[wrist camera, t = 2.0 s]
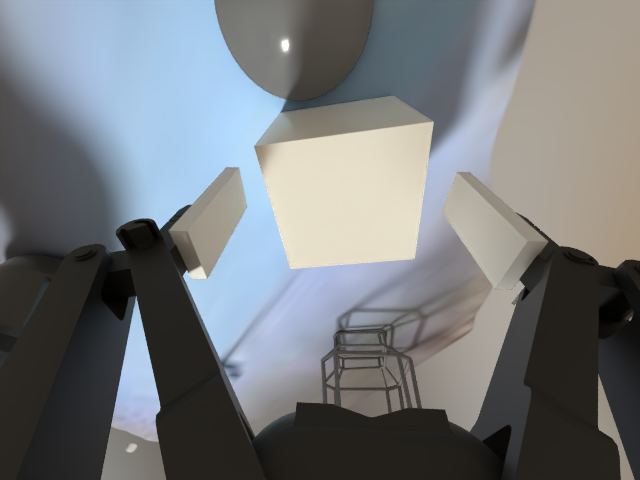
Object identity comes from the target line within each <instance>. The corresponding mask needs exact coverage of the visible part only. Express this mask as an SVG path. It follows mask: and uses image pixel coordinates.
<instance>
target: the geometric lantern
mask: <svg viewBox="0 0 640 480" xmlns="http://www.w3.org/2000/svg"><path fill="white" fill-rule="evenodd" d="M338 334H339V335H338ZM341 334H378V337H379V342H380V344H345V345H341V342H340V335H341ZM380 334H382V335H383V343H382V340H381V336H380ZM337 335H338V345H337V344H336V337H337ZM385 336H386V335H385V333H383V332H380V331H362V332H337V333H336V334H335V335H334V336H333V338H334V349H332V350H331V351H330V352H329V353H328V354H327V355H326V356H325V357H323V358H322V359H321V367H322V393H323V404H327V389H326V388H328V389H330V390H333V391H334V405H337V406H339V407H341V399H340V391H386V398H387V405H388V412H389V413H391V412H392V411H391V404H390V398H389V391H390V390H394V389H398V391H399V398H400V405H401V410H402V409H404V402H403V396H402V389H401V385H402V383H403V388H404V392H405V397H406V402H407V406H408V408H412V404H411V399H410V395H409V390H408V386H407V382H406V377H405V376H406V373H407V371H408V369H409V367H410V371H411V376H412V381H413V387H414V392H415V397H416V403H417V408H421V409H422V406H421V401H420V396H419V391H418V387H417V381H416V376H415V371H414V366H413V361H412V358H411V357H409V356H406V355H404V354H402V353H400V352H398V351H397V350H395V349H393V348H391V347H390V346H388V345H387V343H386V337H385ZM372 346H382V352H356V351H337V349H338V348H339V347H372ZM384 348H385V351H384ZM387 350H389V351H390V352H387ZM338 355H352V356H379V357H350V358H343V357H340V356H338ZM332 356H333V357H334V371H333V372H332V373H331V374H330V375H329V376H328V377H327V379H326V373H325V361H327V360H328V359H329V358H331V357H332ZM387 356H389V357H397V360H398V365H399V369H400V374H401V378H400V381H399V383H398V382H397V381H396V379H395V378H394V377H393V375H392V374H391V373H390V371H389V370H388V369H387V367H386V357H387ZM381 357H382V359H383V364H384V365H382V366H381V362H380V358H381ZM401 358H403V359H406V360H408V361H407V363H406V366H405V368H403V364H402V360H401ZM339 359H342V367H340V362H339ZM363 359H378V364H379V366H376V367H356V368H344V360H363ZM382 368H385V370H386V371H387V372H388V374H389V375H390V376H391V378H392V379H393V380H394V382H395V383H396V384H397V385H394V386H391V387H387V384H386V381H385V377H384V374H383V370H382ZM338 369H341V371H340V374H339V373H338ZM364 369H380V371H381V375H382V378H383V382H384V385H385V388H340V386H339V380H340V377H341V374H342V371H343V370H364ZM334 373H335V388H334V387H332V386H330V385H328V384H326V382H327V381H328V380H329V379H330V378H331V376H332V375H333V374H334Z"/></svg>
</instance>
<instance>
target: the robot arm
mask: <svg viewBox="0 0 640 480" xmlns="http://www.w3.org/2000/svg"><path fill="white" fill-rule="evenodd" d="M246 208H247V203H246V199H245V194H244V189H243V184H242V180H241V175H240V170H239V168H238V167H226V168H225V170H224V171H223V172H222V173H221V174H220V175H219V176H218V177H217V178H216V179H215V180H214V182H213V183H212V184H211V185H210V186H209V187H208V188H207V189H206V190H205V191H204V192H203V194H202V195H201V196H200V197H199V198H198V199H197V200H196V201H195V202H194V203H193V204H192V205H187V206H185V207H183V208H182V209H180V210H179V211H178V212H177V213H176V214H175V215H174V217H172V218H171V219H170V220H169V222H167V223H166V224H165V225H164V226H163V227H162V228H161V229H160V230H159V229H158V227H157V225H156V223H155V221H154V220H152V219H138V220H133V221H131V222H128V223H126V224H124V225H122V226H120V227H119V228H118V229H117V231H116V235H117V237H118V239H119V240H120V242H121V243H122V245H123V246H124V248H125V249H126V250H124V251H118V252H112V253H109V252H108V250H107V249H106V247H105V246H103V245H100V244H93V245H88V246H83V247H80V248H79V249H76V250H74V251H73V252H71V253H70V254H68V255H67V256H66V257H65V258H64V259H63V260H61V259H57V258H53V257H47V256H41V255H20V256H15V257H12V258H10V259H9V260H7V261H6V262H4V263H2V264H1V265H0V480H101V475H102V469H103V463H104V459H105V454H106V449H107V443H108V438H109V433H110V428H111V423H112V417H113V412H114V407H115V402H116V397H117V391H118V386H119V381H120V376H121V371H122V366H123V360H124V355H125V350H126V345H127V340H128V334H129V329H130V324H131V319H132V314H133V308H134V303H135V298H136V296H137V301H138V305H139V310H140V314H141V319H142V323H143V328H144V332H145V337H146V341H147V346H148V350H149V355H150V360H151V364H152V369H153V373H154V378H155V382H156V387H157V391H158V396H159V400H160V406H161V408H160V411H159V412H158V414H157V415H156V428H157V434H158V439H159V444H160V449H161V455H162V460H163V464H164V470H165V475H166V480H621V477H620V456H619V451H618V447H617V445H616V443H615V442H614V440H613V439H612V438H611V437H609V436H607V435H606V434H604V433H603V432H601V431H599V429H598V374H599V377H600V379H601V382H602V385H603V388H604V391H605V394H606V397H607V400H608V403H609V406H610V409H611V412H612V414H613V417H614V420H615V423H616V426H617V429H618V432H619V435H620V438H621V440H622V444H623V446H624V450H625V452H626V455H627V458H628V461H629V464H630V467H631V470H632V473H633V476H634V479H635V480H640V261H637V260H625V261H624V262H623V263H622V264H620V265H619V266H618V267H617V268H611V267H606V266H601V265H599V264H598V262H597V261H596V260H595V259H594V258H593V257H592V256H590V255H588V254H587V253H585V252H582V251H580V250H578V249H574V248H571V247H563V246H561V247H560V246H558V245H557V244H556V243H555V242H554V241H552V240H551V239H550V238H549V237H548V236H547V235H546V234H544V233H543V232H542V231H540V229H539V228H537V227H536V226H534V224H533V223H532V222H530V221H529V220H528V219H527V218H525V217H523V216H522V215H520V214H518V213H516V212H514V211H513V210H512V209H511V208H510V207H509V206H508V205H506V204H505V203H504V202H503V201H502V200H501V199H500V198H498V197H497V196H496V195H495V194H494V193H493V192H492V191H491V190H489V189H488V188H487V187H486V186H485V185H484V184H483V183H482V182H480V181H479V180H478V179H477V178H476V177H475V176H474V175H472V174H471V173H470V172H457V173H456V175H455V178H454V181H453V183H452V186H451V189H450V192H449V194H448V197H447V200H446V202H445V205H444V208H443V210H442V212H443V214H444V215H445V217H446V218H447V220H448V221H449V223H450V224H451V226H452V227H453V229H454V230H455V231H456V233H457V234H458V236H459V237H460V239H461V240H462V242H463V243H464V245H465V246H466V248H467V249H468V251H469V252H470V253H471V255H472V256H473V258H474V259H475V261H476V262H477V264H478V265H479V267H480V268H481V270H482V271H483V273H484V274H485V275H486V277H487V278H488V280H489V281H490V283H491V284H492V286H493V287H494V289H507V290H512V289H513V288H514V287H515V285H516V284H517V283H518V281H519V280H520V281H521V282H522V283H523V284H524V286H525V287H524V289H523V290H522V291H521V292H520V294H519V295H518V296H517V297H516V299H515V300H514V301H513V302H512V304H513V305H515V304H516V303H517V304H516V307H515V310H514V313H513V316H512V319H511V322H510V325H509V328H508V331H507V334H506V337H505V340H504V343H503V346H502V349H501V352H500V355H499V358H498V361H497V364H496V367H495V370H494V373H493V376H492V378H491V382H490V385H489V388H488V390H487V393H486V396H485V399H484V402H483V405H482V408H481V411H480V414H479V417H478V420H477V421H476V423H475V425H474V426H473V428H472V429H471V431H470V432H468V431H467V430H465V429H463V428H462V427H460V426H458V425H456V424H453V423H451V422H449V421H448V418H447V415H446V412H445V410H441V409H440V410H439V409H421V408H406V409H402V410H399V411H395V412H391V413H388V414H384V415H381V416H377V417H367V416H364V415H362V414H359V413H356V412H353V411H350V410H348V409H345V408H342V407H339V406H337V405H334V404H321V403H301V402H297V406H296V412H293V413H290V414H287V415H285V416H282V417H280V418H279V419H277V420H275V421H274V422H272V423H271V424H269V425H268V426H267V427H265V428H264V429H263V430H262V431H261V432H260V433H259V434H258V435H257V436H256V437H255V436H254V433H253V431H252V429H251V427H250V425H249V423H248V420H247V418H246V416H245V414H244V412H243V410H242V408H241V406H240V403H239V401H238V399H237V397H236V395H235V392H234V390H233V388H232V386H231V383H230V381H229V379H228V377H227V374H226V372H225V370H224V368H223V365H222V363H221V361H220V359H219V356H218V354H217V352H216V350H215V347H214V345H213V343H212V341H211V338H210V336H209V334H208V332H207V329H206V327H205V325H204V323H203V320H202V318H201V316H200V314H199V311H198V309H197V307H196V305H195V303H194V300H193V298H192V296H191V294H190V291H189V289H188V287H187V285H186V282H185V280H184V278H183V275H184V273H185V272H186V270H187V271H188V273H189V275H190V277H191V279H208V277H209V275H210V273H211V271H212V270H213V268H214V266H215V264H216V262H217V261H218V259H219V257H220V255H221V253H222V252H223V250H224V248H225V246H226V244H227V242H228V241H229V239H230V237H231V235H232V233H233V232H234V230H235V228H236V226H237V224H238V223H239V221H240V219H241V217H242V215H243V213H244V212H245V210H246ZM632 316H633V317H632ZM631 317H632V319H631V321H629V319H630V318H631Z"/></svg>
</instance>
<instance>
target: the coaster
mask: <svg viewBox="0 0 640 480" xmlns="http://www.w3.org/2000/svg"><path fill="white" fill-rule="evenodd" d="M214 2H215V9H216V14H217V18H218V22H219V26H220V29H221V32H222V35H223V37H224V40H225V42H226V44H227V46H228V49H229V50H230V52H231V54H232V56H233V57H234V59H235V61H236V62H237V63H238V65H239V66H240V68H241V69H242V70H243V71H244V73H245V74H246V75H247V76H248V77H249V78H250V79H251V80H252V81H253V82H254V83H255V84H257V85H258V86H259V87H261V88H262V89H263V90H265V91H267V92H269V93H271V94H272V95H275V96H278V97H280V98H284V99H288V100H308V99H313V98H316V97H319V96H321V95H324V94H325V93H327V92H329V91H331V90H332V89H333V88H335V87H336V86H337V85H339V84H340V83H341V82H342V81H343V80H344V79H345V78H346V77H347V75H348V74H349V73H350V71H351V70H352V69H353V67H354V66H355V64H356V62H357V61H358V59H359V57H360V55H361V53H362V51H363V48H364V45H365V43H366V40H367V37H368V33H369V29H370V25H371V19H372V12H373V0H214Z"/></svg>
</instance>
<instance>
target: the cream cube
mask: <svg viewBox="0 0 640 480" xmlns="http://www.w3.org/2000/svg"><path fill="white" fill-rule="evenodd" d="M433 124H434V121H432V120H431V119H429V118H428V117H426V116H424V115H423V114H421V113H420V112H418V111H417V110H415V109H414V108H412V107H411V106H409V105H407V104H406V103H404V102H403V101H401V100H400V99H398V98H397V97H395V96H386V97H379V98H373V99H366V100H359V101H353V102H346V103H340V104H333V105H326V106H320V107H313V108H306V109H300V110H293V111H286V112H280V114H279V115H278V116H277V118H276V119H275V120H274V121H273V123H272V124H271V125H270V127H269V128H268V129H267V130H266V132H265V133H264V134H263V136H262V137H261V138H260V139H259V141H258V142H257V143H256V145H255V146H254V147H255V151H256V154H257V157H258V161H259V164H260V168H261V171H262V174H263V178H264V181H265V185H266V188H267V191H268V195H269V198H270V201H271V205H272V208H273V212H274V215H275V218H276V222H277V225H278V228H279V232H280V235H281V239H282V242H283V245H284V249H285V252H286V256H287V259H288V262H289V266H290V269H297V268H309V267H322V266H334V265H346V264H358V263H370V262H382V261H395V260H407V259H415V252H416V245H417V238H418V231H419V224H420V217H421V210H422V202H423V195H424V188H425V181H426V174H427V167H428V160H429V153H430V145H431V138H432V131H433Z"/></svg>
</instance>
